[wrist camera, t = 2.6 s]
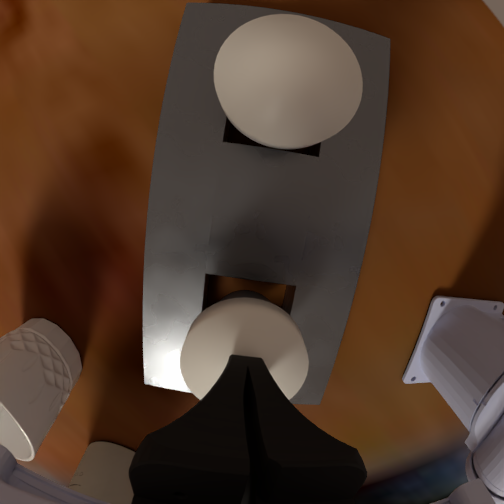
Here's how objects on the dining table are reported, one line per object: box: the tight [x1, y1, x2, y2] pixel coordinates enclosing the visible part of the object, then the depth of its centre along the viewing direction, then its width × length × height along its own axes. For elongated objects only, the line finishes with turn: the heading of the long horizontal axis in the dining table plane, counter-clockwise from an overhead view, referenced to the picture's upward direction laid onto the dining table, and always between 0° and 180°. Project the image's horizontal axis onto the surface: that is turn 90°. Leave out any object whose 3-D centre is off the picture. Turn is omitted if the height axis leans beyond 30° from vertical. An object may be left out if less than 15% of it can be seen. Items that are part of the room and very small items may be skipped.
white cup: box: [0, 318, 82, 461], centre depth 16 cm, size 8×8×10 cm
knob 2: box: [180, 290, 309, 400], centre depth 15 cm, size 6×6×5 cm
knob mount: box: [143, 3, 390, 405], centre depth 17 cm, size 12×24×3 cm, turn 172°
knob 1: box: [214, 14, 363, 149], centre depth 12 cm, size 6×6×5 cm
